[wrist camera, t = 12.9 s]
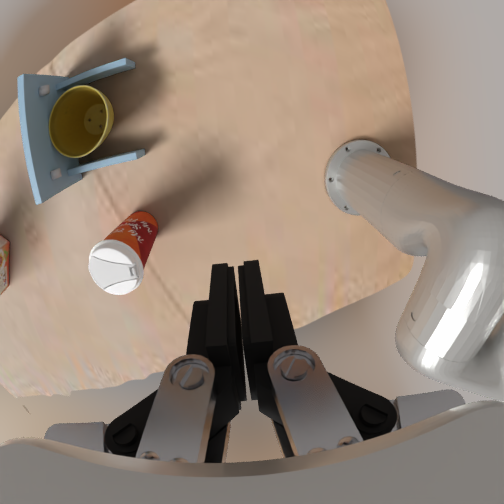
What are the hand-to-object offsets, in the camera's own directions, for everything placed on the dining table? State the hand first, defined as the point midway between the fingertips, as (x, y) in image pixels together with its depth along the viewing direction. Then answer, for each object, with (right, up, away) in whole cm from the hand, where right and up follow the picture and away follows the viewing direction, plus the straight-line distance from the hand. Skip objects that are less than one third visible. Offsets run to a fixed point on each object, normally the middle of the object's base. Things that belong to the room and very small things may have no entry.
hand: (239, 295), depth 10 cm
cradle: (-22, +22, +23) cm, 39 cm away
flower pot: (-23, +22, +23) cm, 39 cm away
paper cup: (-17, +6, +32) cm, 37 cm away
